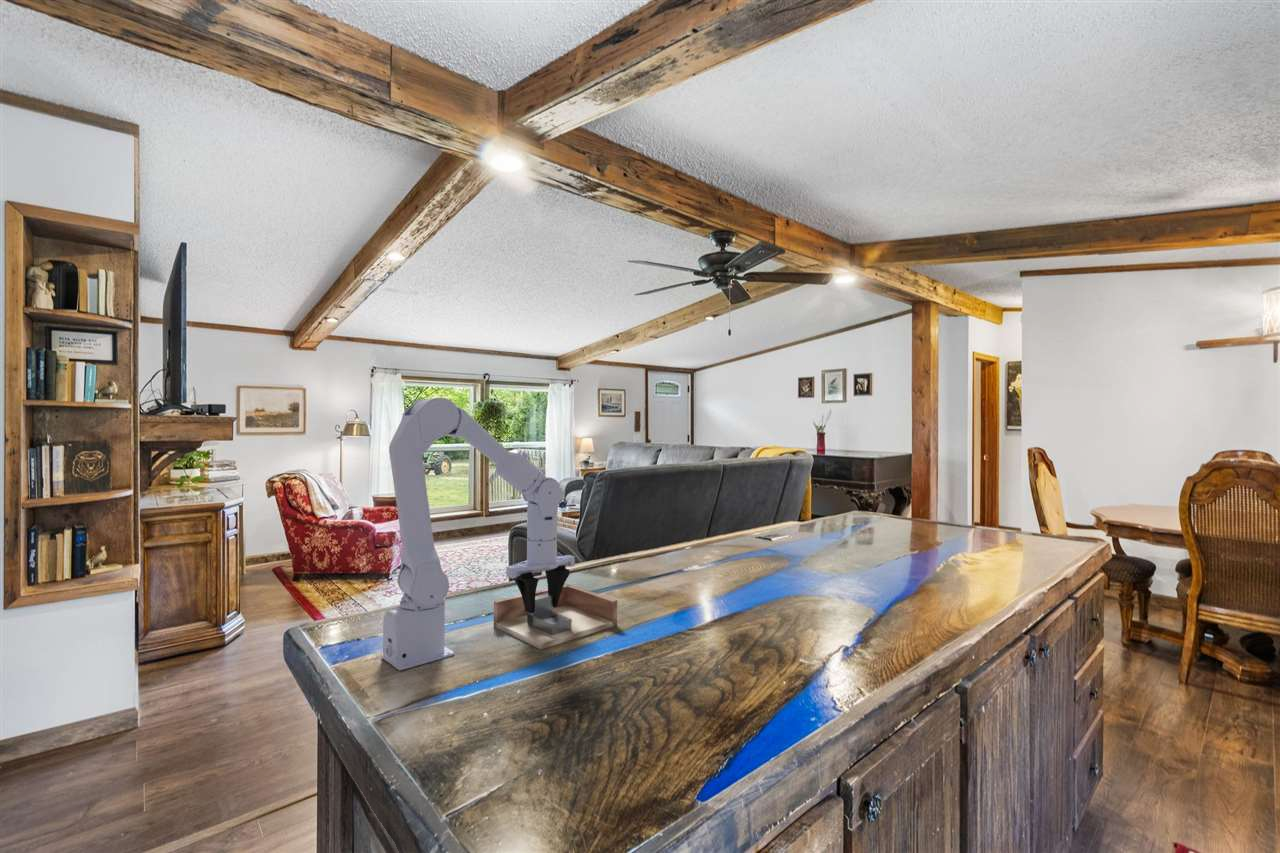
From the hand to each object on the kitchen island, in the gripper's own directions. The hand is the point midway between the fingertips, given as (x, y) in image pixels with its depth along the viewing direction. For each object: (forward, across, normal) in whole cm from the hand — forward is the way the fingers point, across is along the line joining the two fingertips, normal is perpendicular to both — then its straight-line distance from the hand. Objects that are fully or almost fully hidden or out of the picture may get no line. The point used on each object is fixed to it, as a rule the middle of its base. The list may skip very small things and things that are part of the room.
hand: (541, 608), depth 112 cm
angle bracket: (+3, 0, -2) cm, 4 cm away
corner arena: (+4, +3, 0) cm, 5 cm away
